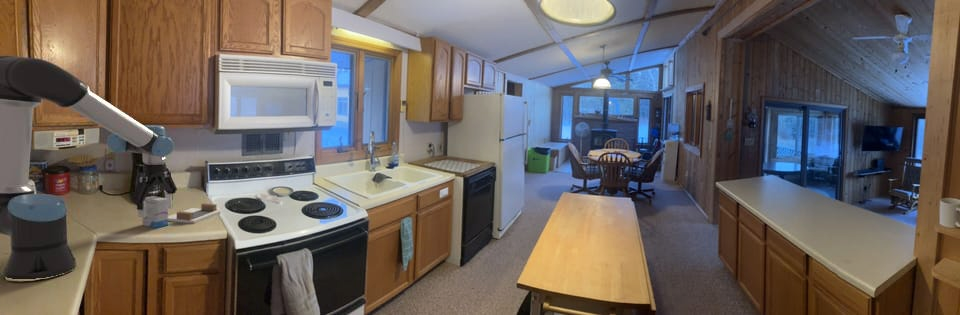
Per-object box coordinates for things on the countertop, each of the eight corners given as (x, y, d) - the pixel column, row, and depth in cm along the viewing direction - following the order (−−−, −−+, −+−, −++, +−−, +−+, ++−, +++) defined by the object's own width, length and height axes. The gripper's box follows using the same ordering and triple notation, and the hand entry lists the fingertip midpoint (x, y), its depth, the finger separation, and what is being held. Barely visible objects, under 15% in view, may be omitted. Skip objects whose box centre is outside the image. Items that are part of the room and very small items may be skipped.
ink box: (169, 225, 175) (168, 198, 174) (157, 228, 170) (156, 200, 169) (154, 222, 177) (153, 195, 176) (141, 225, 173) (141, 197, 171)
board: (194, 223, 180) (194, 214, 179) (163, 220, 180) (163, 211, 180) (220, 213, 197) (220, 204, 196) (192, 210, 197) (192, 201, 197)
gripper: (137, 168, 158) (139, 222, 161) (186, 159, 183) (187, 205, 186) (118, 167, 158) (120, 220, 161) (169, 157, 183) (170, 204, 186)
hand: (156, 212), depth 174 cm, fingers open, 13 cm apart
